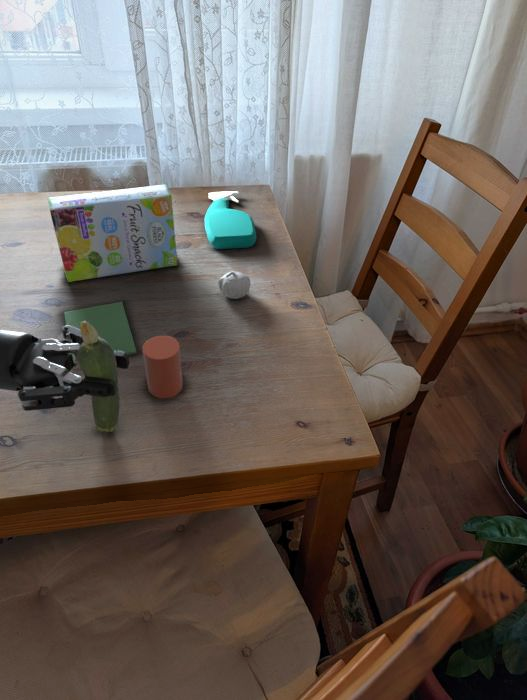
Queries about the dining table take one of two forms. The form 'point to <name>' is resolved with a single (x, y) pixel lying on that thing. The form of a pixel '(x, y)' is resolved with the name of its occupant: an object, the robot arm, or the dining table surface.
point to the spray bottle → (228, 223)
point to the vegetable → (100, 375)
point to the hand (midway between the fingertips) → (121, 374)
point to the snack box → (114, 231)
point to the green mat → (105, 325)
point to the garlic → (234, 284)
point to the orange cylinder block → (163, 366)
